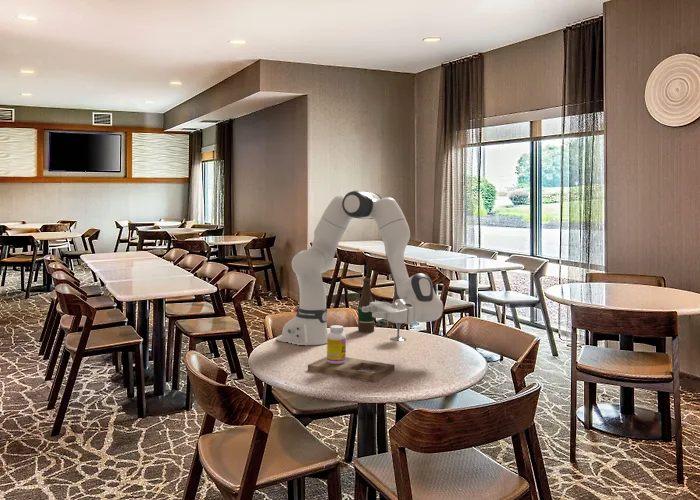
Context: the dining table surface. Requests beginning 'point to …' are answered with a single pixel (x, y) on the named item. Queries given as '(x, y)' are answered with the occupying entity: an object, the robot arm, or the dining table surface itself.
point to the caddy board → (353, 369)
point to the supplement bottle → (336, 345)
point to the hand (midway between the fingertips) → (367, 312)
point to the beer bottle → (365, 317)
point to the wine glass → (398, 334)
